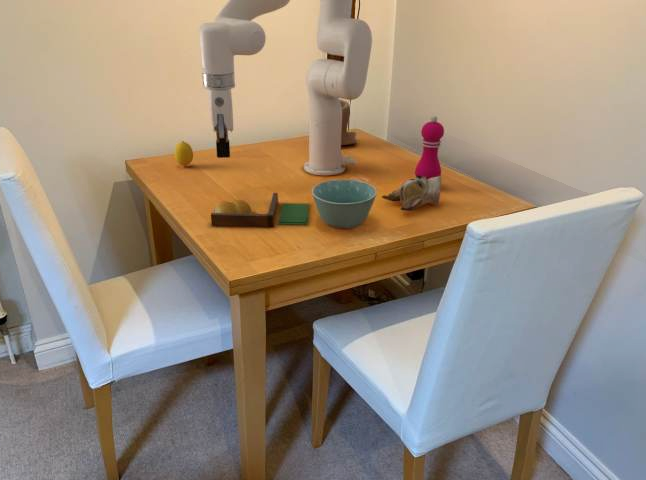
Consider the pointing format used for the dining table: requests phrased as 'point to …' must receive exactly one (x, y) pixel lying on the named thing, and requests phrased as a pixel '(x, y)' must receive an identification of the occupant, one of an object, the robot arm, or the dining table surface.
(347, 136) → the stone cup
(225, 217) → the corner guide
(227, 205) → the bread roll
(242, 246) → the dining table surface
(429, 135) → the pepper mill
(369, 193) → the bowl
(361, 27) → the robot arm
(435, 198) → the ceramic sculpture
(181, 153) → the lemon
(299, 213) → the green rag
